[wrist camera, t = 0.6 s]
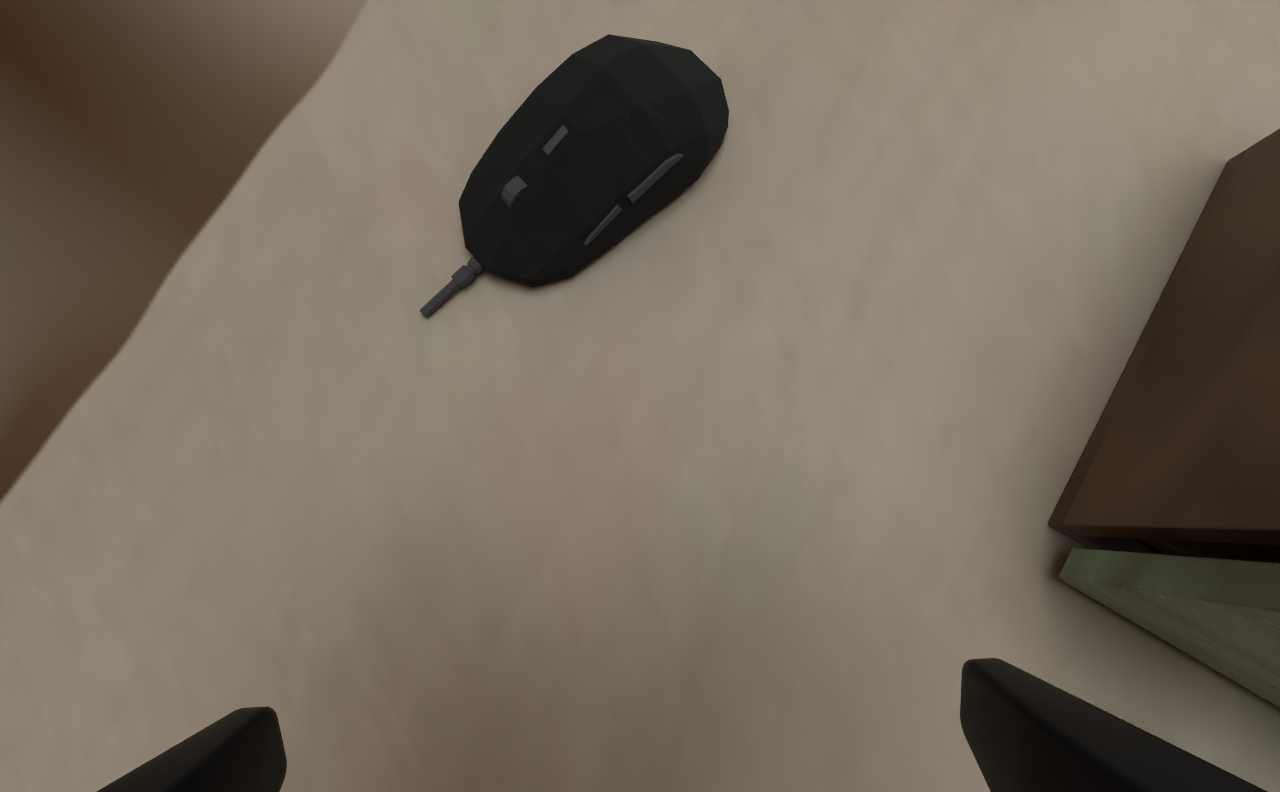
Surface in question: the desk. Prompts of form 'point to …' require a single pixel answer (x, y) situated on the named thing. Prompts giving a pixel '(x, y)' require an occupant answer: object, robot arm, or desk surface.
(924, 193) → the desk surface
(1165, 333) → the cabinet
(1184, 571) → the drawer
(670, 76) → the gaming mouse
